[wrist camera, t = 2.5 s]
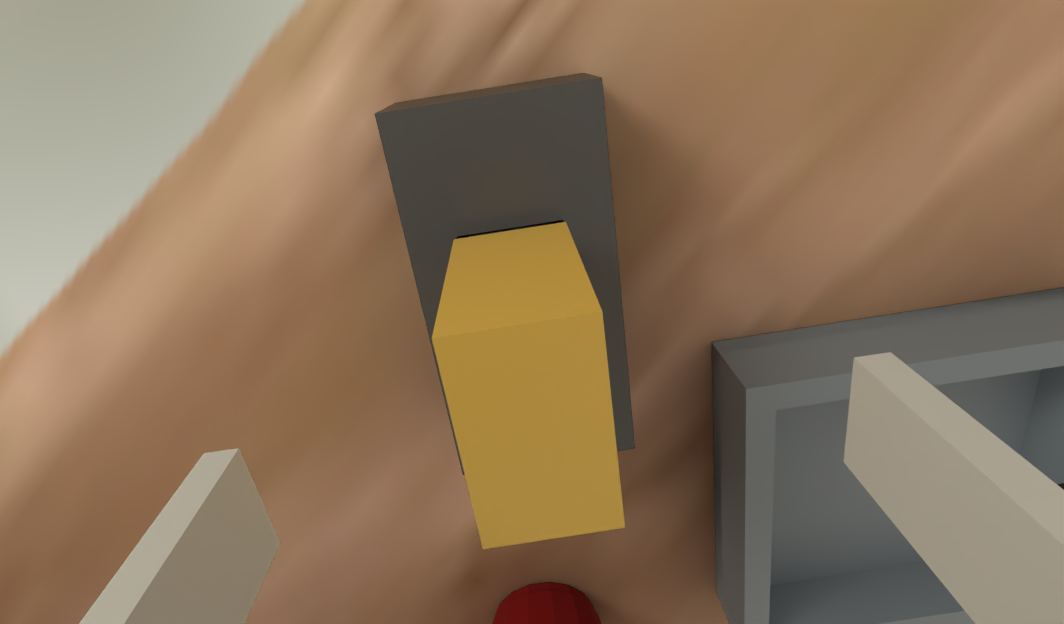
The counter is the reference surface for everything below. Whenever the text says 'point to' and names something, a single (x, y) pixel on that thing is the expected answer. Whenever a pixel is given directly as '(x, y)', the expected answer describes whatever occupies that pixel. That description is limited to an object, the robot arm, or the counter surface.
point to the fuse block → (510, 189)
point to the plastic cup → (546, 606)
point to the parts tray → (819, 444)
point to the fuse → (528, 386)
